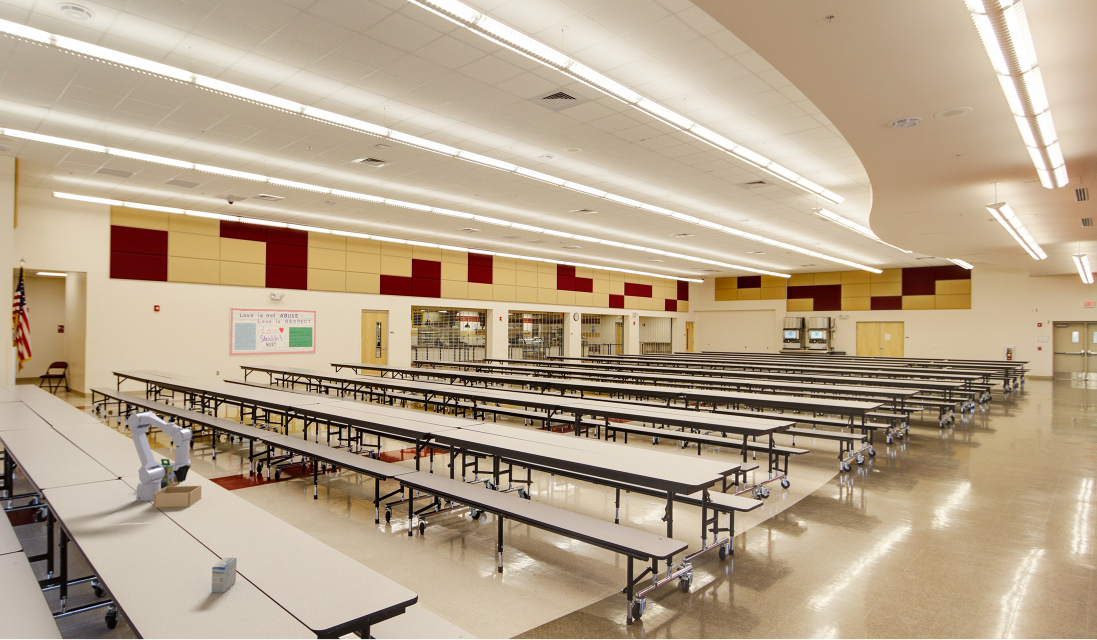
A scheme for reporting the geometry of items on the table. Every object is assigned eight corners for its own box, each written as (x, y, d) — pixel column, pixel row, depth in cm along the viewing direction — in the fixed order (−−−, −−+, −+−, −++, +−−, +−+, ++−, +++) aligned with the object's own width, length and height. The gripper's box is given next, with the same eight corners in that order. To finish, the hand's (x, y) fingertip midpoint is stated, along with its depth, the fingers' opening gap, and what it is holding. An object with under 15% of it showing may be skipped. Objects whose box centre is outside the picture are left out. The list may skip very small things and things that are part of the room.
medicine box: (222, 582, 194) (223, 557, 194) (236, 582, 194) (236, 557, 194) (211, 593, 186) (211, 567, 186) (225, 592, 186) (225, 566, 186)
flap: (155, 507, 266) (155, 493, 266) (155, 507, 267) (156, 493, 267) (188, 506, 269) (188, 493, 269) (188, 506, 269) (188, 492, 269)
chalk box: (180, 483, 308) (180, 456, 308) (167, 488, 298) (167, 460, 298) (164, 483, 308) (165, 456, 309) (151, 487, 299) (151, 460, 299)
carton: (153, 509, 266) (153, 493, 266) (166, 501, 278) (166, 486, 278) (190, 507, 269) (190, 492, 269) (201, 500, 281) (201, 485, 281)
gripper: (183, 457, 270) (183, 485, 270) (197, 450, 284) (196, 477, 284) (167, 457, 269) (167, 485, 269) (182, 450, 283) (181, 477, 283)
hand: (181, 481), depth 276 cm, fingers closed
